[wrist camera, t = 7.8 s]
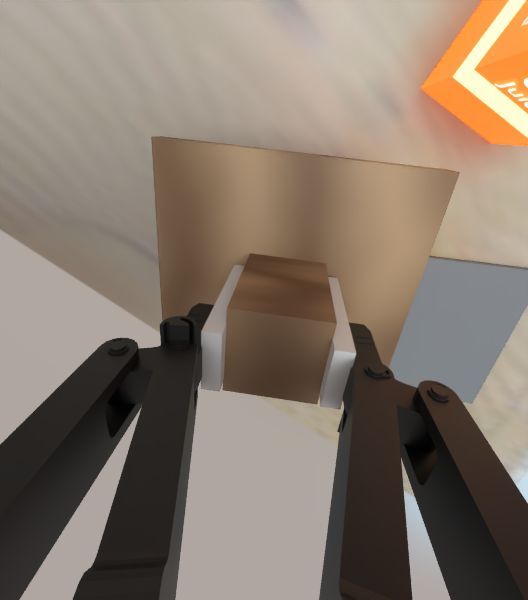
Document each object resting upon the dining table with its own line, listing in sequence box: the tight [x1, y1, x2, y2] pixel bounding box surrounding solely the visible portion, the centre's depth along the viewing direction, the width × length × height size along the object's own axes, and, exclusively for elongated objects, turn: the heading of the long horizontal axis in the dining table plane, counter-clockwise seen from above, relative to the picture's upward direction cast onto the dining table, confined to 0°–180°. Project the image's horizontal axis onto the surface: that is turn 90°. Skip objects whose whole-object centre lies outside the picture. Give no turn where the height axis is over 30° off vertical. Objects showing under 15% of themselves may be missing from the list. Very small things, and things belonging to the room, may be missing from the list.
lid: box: [152, 137, 459, 404], centre depth 16 cm, size 14×14×7 cm
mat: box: [389, 256, 528, 403], centre depth 34 cm, size 17×17×1 cm
